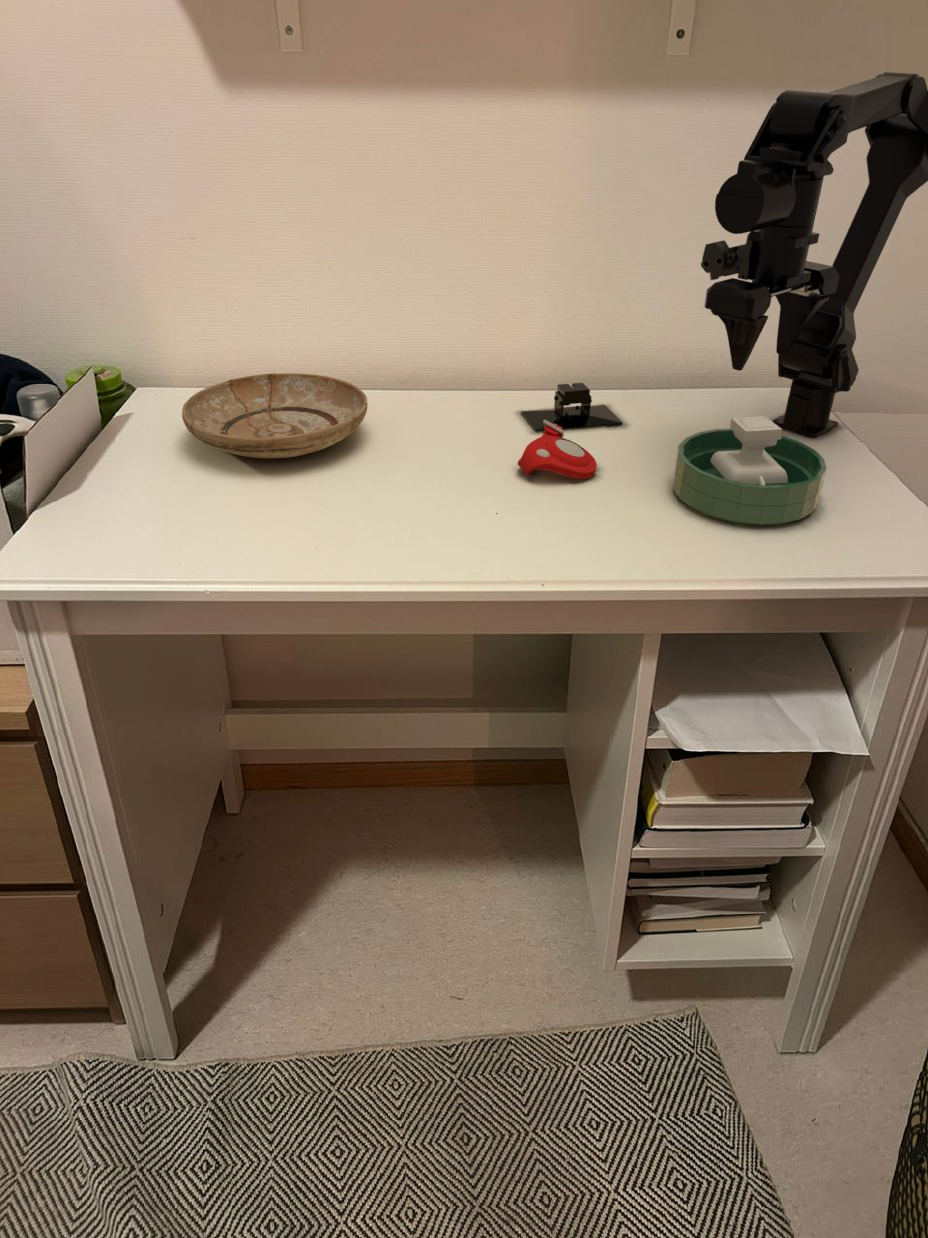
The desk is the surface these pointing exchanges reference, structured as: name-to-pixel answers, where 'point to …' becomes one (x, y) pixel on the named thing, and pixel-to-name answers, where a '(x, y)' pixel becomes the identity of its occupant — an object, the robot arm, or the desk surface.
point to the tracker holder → (557, 455)
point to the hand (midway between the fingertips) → (759, 361)
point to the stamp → (751, 454)
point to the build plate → (572, 411)
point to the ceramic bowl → (275, 414)
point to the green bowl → (747, 500)
